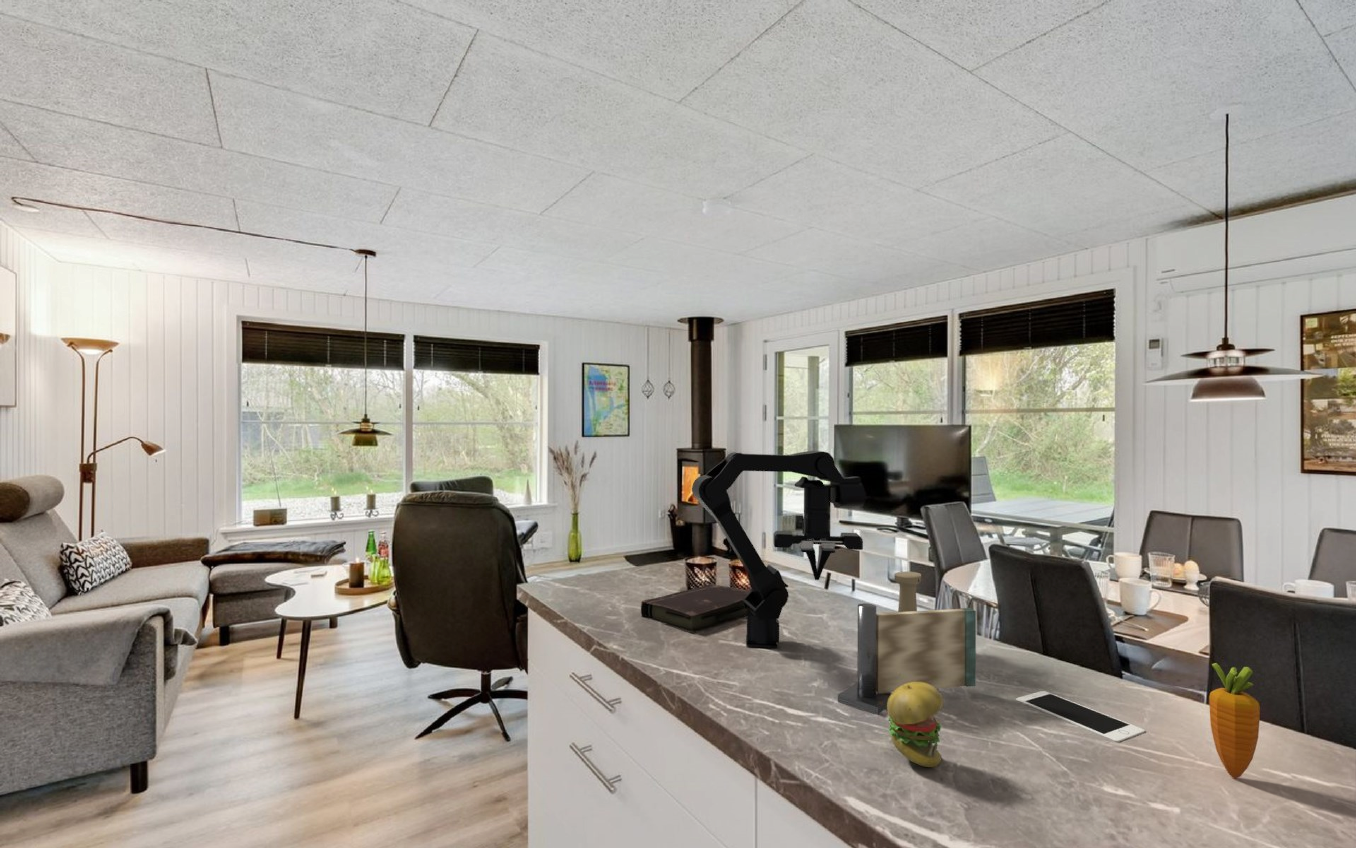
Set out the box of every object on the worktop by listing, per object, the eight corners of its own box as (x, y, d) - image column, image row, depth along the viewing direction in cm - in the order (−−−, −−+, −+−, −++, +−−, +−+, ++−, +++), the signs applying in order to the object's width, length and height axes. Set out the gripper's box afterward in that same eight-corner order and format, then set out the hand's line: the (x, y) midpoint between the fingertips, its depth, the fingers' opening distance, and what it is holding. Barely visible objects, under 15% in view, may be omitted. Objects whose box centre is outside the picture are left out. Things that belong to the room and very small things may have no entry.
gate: (879, 693, 103) (879, 615, 103) (873, 689, 105) (874, 612, 105) (975, 686, 107) (975, 610, 107) (968, 682, 108) (969, 607, 109)
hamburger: (949, 779, 81) (949, 687, 81) (891, 773, 82) (892, 682, 82) (935, 749, 88) (935, 665, 88) (882, 744, 89) (883, 661, 90)
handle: (925, 644, 132) (925, 574, 132) (910, 651, 127) (911, 579, 128) (904, 638, 135) (904, 570, 135) (889, 645, 131) (889, 574, 131)
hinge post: (877, 714, 99) (878, 614, 99) (837, 701, 103) (838, 606, 104) (895, 700, 104) (895, 605, 104) (856, 689, 109) (856, 598, 109)
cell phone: (1117, 745, 90) (1117, 741, 90) (1014, 702, 105) (1014, 698, 105) (1146, 734, 94) (1146, 730, 94) (1043, 693, 108) (1043, 690, 108)
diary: (639, 619, 150) (639, 598, 150) (709, 600, 168) (709, 582, 168) (694, 637, 137) (694, 614, 137) (764, 614, 154) (764, 594, 154)
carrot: (1199, 768, 84) (1199, 657, 84) (1232, 767, 84) (1232, 657, 84) (1235, 790, 79) (1235, 672, 79) (1271, 788, 79) (1270, 671, 79)
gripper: (854, 504, 142) (854, 572, 142) (772, 503, 144) (772, 570, 144) (863, 511, 131) (863, 584, 131) (774, 509, 133) (774, 581, 133)
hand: (816, 579), depth 135 cm, fingers closed
